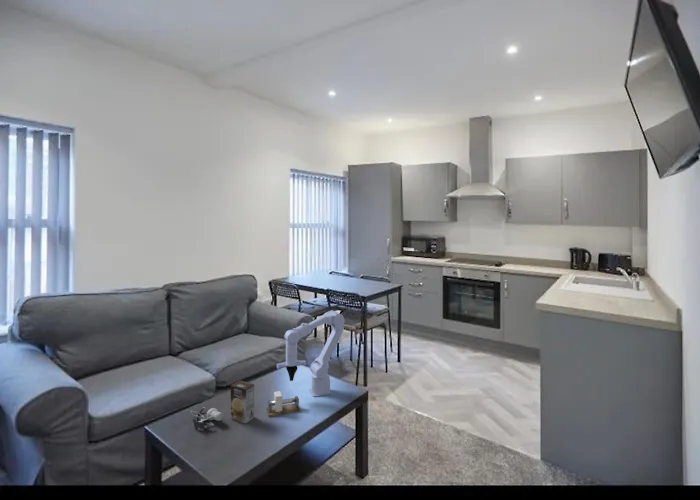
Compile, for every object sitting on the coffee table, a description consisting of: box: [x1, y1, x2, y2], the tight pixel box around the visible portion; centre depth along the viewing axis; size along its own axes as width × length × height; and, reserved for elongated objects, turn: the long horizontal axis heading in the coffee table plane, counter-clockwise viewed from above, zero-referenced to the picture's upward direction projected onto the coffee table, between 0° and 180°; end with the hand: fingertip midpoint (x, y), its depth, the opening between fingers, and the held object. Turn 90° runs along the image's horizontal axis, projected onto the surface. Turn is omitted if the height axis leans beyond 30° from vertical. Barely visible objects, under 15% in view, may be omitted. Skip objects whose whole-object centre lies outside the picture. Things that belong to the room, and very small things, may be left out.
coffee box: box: [230, 379, 255, 424], centre depth 173 cm, size 9×6×16 cm
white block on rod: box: [273, 390, 283, 412], centre depth 179 cm, size 3×5×7 cm, turn 21°
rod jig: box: [266, 395, 301, 418], centre depth 180 cm, size 15×7×6 cm, turn 111°
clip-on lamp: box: [189, 407, 224, 430], centre depth 170 cm, size 12×6×18 cm
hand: (291, 380), depth 191 cm, fingers closed
